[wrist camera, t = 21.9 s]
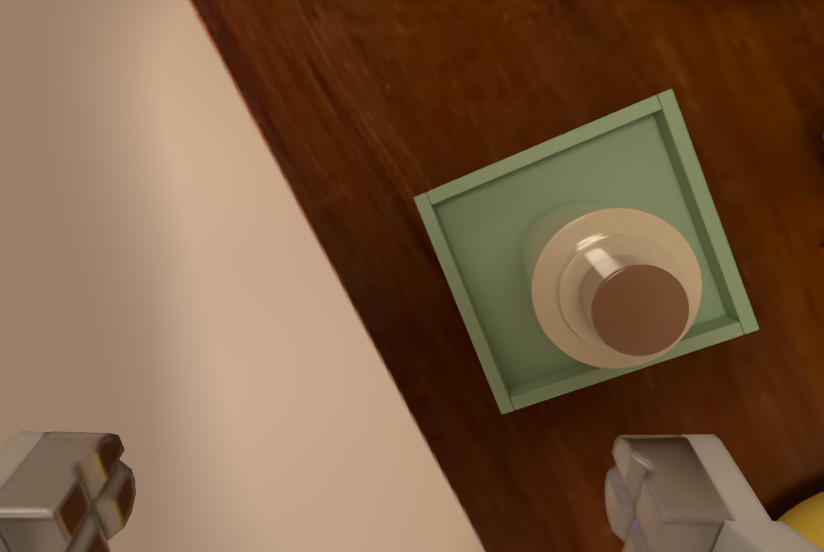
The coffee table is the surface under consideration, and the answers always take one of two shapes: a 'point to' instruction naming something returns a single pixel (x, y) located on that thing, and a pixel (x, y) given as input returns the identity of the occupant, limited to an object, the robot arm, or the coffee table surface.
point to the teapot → (808, 519)
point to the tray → (562, 184)
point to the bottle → (611, 283)
